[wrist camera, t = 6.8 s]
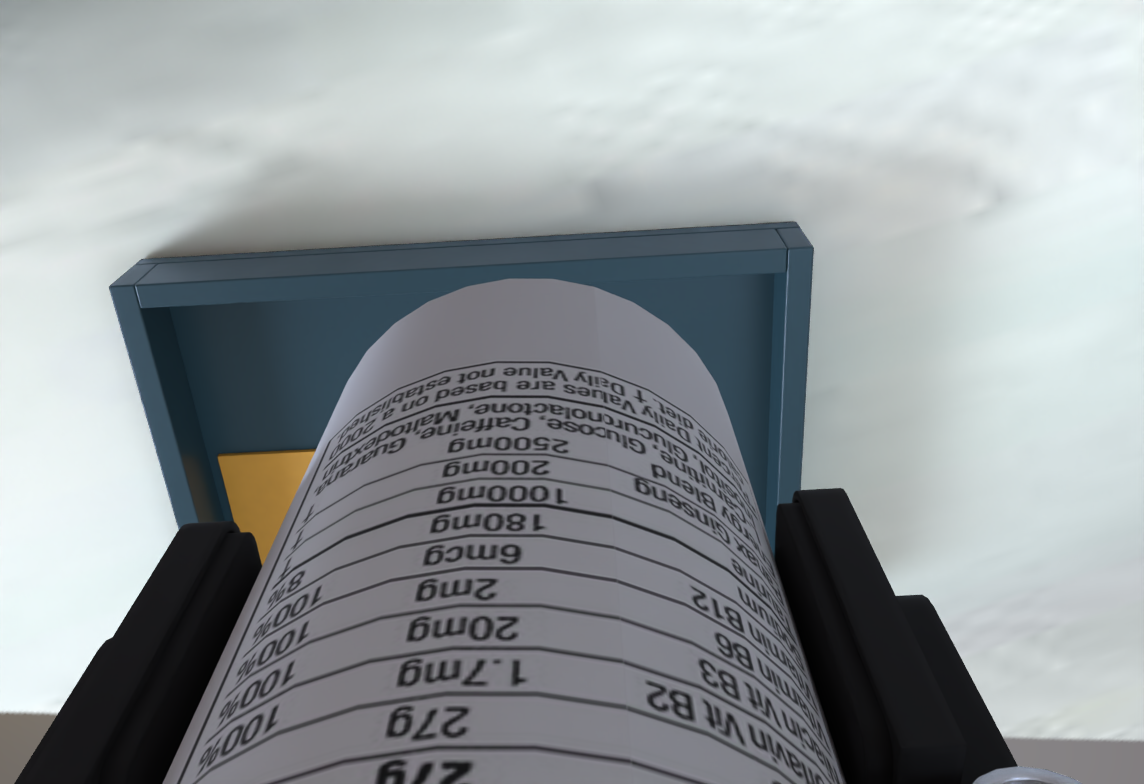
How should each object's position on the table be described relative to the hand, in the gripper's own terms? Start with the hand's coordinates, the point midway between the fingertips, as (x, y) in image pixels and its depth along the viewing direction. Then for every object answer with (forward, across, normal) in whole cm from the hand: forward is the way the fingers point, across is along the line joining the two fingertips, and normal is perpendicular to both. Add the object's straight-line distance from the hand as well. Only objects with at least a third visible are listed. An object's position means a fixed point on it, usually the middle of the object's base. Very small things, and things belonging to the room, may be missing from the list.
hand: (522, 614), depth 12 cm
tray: (+22, +3, +10) cm, 24 cm away
